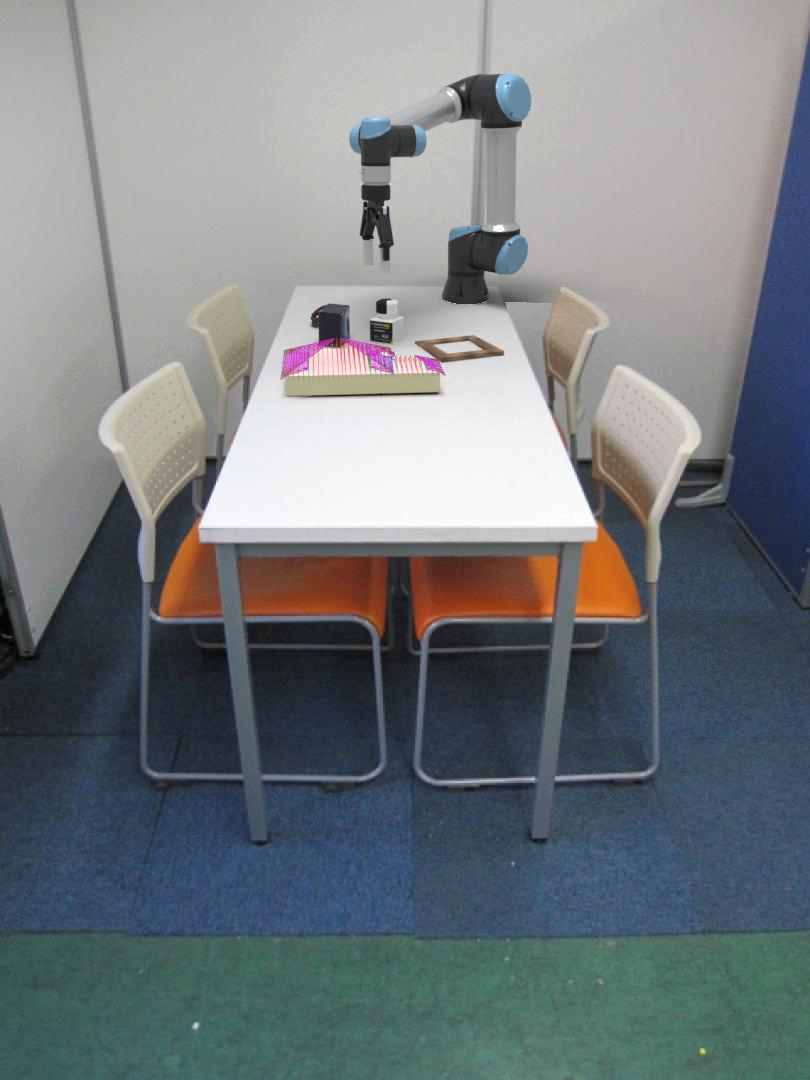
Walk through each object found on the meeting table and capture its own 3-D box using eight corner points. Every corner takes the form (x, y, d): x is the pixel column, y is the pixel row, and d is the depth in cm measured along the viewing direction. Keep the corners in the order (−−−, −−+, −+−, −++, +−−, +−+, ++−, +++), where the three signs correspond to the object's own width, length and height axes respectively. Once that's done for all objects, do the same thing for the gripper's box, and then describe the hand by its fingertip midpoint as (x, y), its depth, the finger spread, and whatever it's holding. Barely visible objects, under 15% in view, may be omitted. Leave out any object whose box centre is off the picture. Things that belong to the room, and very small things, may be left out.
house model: (432, 363, 226) (433, 323, 222) (445, 393, 204) (446, 349, 199) (284, 366, 223) (282, 326, 219) (281, 397, 201) (278, 353, 196)
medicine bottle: (369, 344, 241) (369, 300, 236) (382, 339, 247) (381, 296, 241) (392, 348, 238) (392, 303, 233) (404, 342, 244) (404, 298, 238)
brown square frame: (473, 340, 246) (473, 335, 245) (503, 356, 231) (504, 350, 230) (414, 346, 239) (414, 341, 239) (441, 363, 225) (441, 357, 224)
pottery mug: (348, 334, 252) (334, 310, 247) (320, 348, 254) (305, 325, 249) (349, 316, 261) (335, 293, 256) (321, 329, 263) (307, 307, 259)
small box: (341, 351, 235) (340, 312, 230) (318, 350, 236) (316, 311, 231) (351, 341, 244) (350, 303, 239) (329, 340, 245) (327, 302, 241)
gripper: (347, 180, 233) (348, 262, 243) (378, 188, 212) (378, 277, 222) (373, 179, 236) (374, 261, 245) (406, 187, 215) (406, 276, 224)
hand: (376, 269), depth 234 cm, fingers open, 13 cm apart
